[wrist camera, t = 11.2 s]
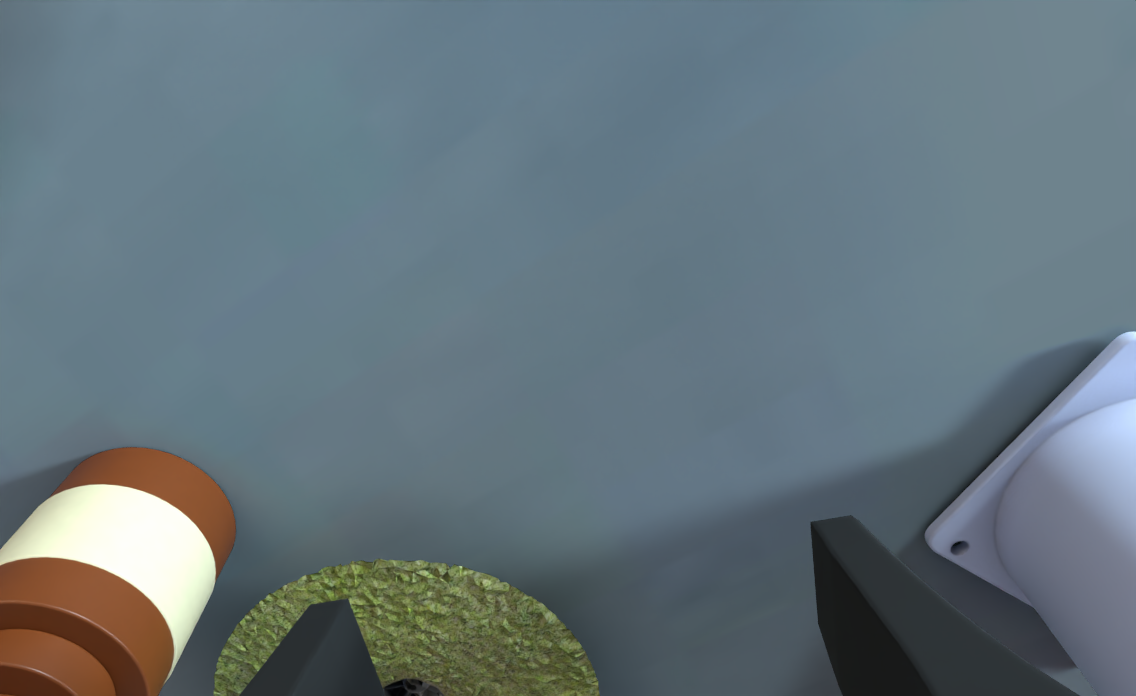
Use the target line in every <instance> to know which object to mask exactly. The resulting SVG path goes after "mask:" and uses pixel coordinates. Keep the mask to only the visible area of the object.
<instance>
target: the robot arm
mask: <svg viewBox="0 0 1136 696" xmlns="http://www.w3.org/2000/svg"><path fill="white" fill-rule="evenodd" d="M811 535H812V548H813V561H814V574H815V588H816V601H817V614H818V624H819V628H820V631H821V634H822V637H823V640H824V643H825V646H826V649H827V652H828V655H829V658H830V661H831V664H832V667H833V670H834V673H835V676H836V679H837V682H838V685H839V688H840V690H841V692H842V694H843V696H1079V695H1078V694H1076V693H1074V692H1073V691H1071V690H1070V689H1068V688H1066V687H1065V686H1063V685H1062V684H1060V683H1059V682H1057V681H1056V680H1054V679H1053V678H1051V677H1049V676H1048V675H1046V674H1045V673H1043V672H1042V671H1040V670H1039V669H1037V668H1036V667H1034V666H1033V665H1031V664H1030V663H1029V662H1027V661H1026V660H1024V659H1023V658H1021V657H1020V656H1019V655H1017V654H1016V653H1014V652H1013V651H1012V650H1010V649H1009V648H1007V647H1006V646H1005V645H1003V644H1002V643H1001V642H999V641H998V640H997V639H995V638H994V637H993V636H991V635H990V634H989V633H987V632H986V631H985V630H983V629H982V628H981V627H979V626H978V625H977V624H975V623H974V622H973V621H972V620H970V619H969V618H968V617H966V616H965V615H964V614H963V613H961V612H960V611H959V610H958V609H956V608H955V607H954V606H953V605H952V604H950V603H949V602H948V601H947V600H946V599H944V598H943V597H942V596H941V595H940V594H938V593H937V592H936V591H935V590H934V589H932V588H931V587H930V586H929V585H928V584H926V583H925V582H924V581H923V580H922V579H921V578H920V577H918V576H917V575H916V574H915V573H914V572H913V571H912V570H911V569H909V568H908V567H907V566H906V565H905V564H904V563H903V562H902V561H901V560H900V559H898V558H897V557H896V556H895V555H894V554H893V553H892V552H891V551H890V550H889V549H888V548H887V547H885V546H884V545H883V544H882V543H881V542H880V541H879V540H878V539H877V538H876V537H875V536H874V535H873V534H872V533H871V532H870V531H869V530H868V529H867V528H866V527H865V526H864V525H863V524H862V523H861V522H860V521H859V520H857V519H856V518H854V517H853V516H851V515H850V516H844V517H838V518H832V519H826V520H820V521H814V522H811ZM925 540H926V542H927V544H928V545H929V547H930V548H931V549H932V550H933V551H934V552H935V553H937V554H939V555H941V556H943V557H944V558H946V559H948V560H950V561H951V562H953V563H955V564H957V565H959V566H960V567H962V568H964V569H966V570H967V571H969V572H971V573H973V574H975V575H976V576H978V577H980V578H982V579H983V580H985V581H987V582H989V583H991V584H992V585H994V586H996V587H998V588H999V589H1001V590H1003V591H1005V592H1007V593H1008V594H1010V595H1012V596H1014V597H1015V598H1017V599H1019V600H1021V601H1023V602H1024V603H1026V604H1028V605H1030V606H1031V607H1033V608H1035V610H1036V611H1037V613H1038V614H1039V615H1040V617H1041V618H1042V619H1043V621H1044V622H1045V623H1046V625H1047V626H1048V628H1049V629H1050V630H1051V632H1052V633H1053V634H1054V636H1055V637H1056V639H1057V640H1058V641H1059V643H1060V644H1061V645H1062V647H1063V648H1064V649H1065V651H1066V652H1067V654H1068V655H1069V656H1070V658H1071V659H1072V660H1073V662H1074V663H1075V665H1076V666H1077V667H1078V669H1079V670H1080V671H1081V673H1082V674H1083V675H1084V677H1085V678H1086V680H1087V681H1088V682H1089V684H1090V685H1091V686H1092V688H1093V689H1094V691H1095V692H1096V693H1097V695H1098V696H1136V332H1126V333H1124V334H1121V335H1119V336H1118V337H1117V338H1115V339H1114V340H1113V341H1112V342H1111V343H1110V344H1109V345H1108V346H1107V347H1106V348H1105V349H1104V350H1103V351H1102V352H1101V353H1100V354H1099V355H1098V356H1097V357H1096V358H1095V359H1094V360H1093V361H1092V362H1091V363H1090V364H1089V365H1088V366H1087V367H1086V368H1085V369H1084V370H1083V371H1082V372H1081V373H1080V374H1079V375H1078V376H1077V377H1076V378H1075V379H1074V380H1073V381H1072V382H1071V383H1070V384H1069V385H1068V386H1067V387H1066V388H1065V389H1064V390H1063V391H1062V392H1061V393H1060V394H1059V396H1058V397H1057V398H1056V399H1055V400H1054V401H1053V402H1052V403H1051V404H1050V405H1049V406H1048V407H1047V408H1046V409H1045V410H1044V411H1043V412H1042V413H1041V414H1040V415H1039V416H1038V417H1037V418H1036V419H1035V420H1034V421H1033V422H1032V423H1031V424H1030V425H1029V426H1028V427H1027V428H1026V429H1025V430H1024V431H1023V432H1022V433H1021V434H1020V435H1019V436H1018V437H1017V438H1016V439H1015V440H1014V441H1013V442H1012V443H1011V444H1010V445H1009V446H1008V447H1007V448H1006V449H1005V450H1004V451H1003V452H1002V453H1001V454H1000V455H999V456H998V457H997V458H996V459H995V460H994V461H993V462H992V463H991V464H990V465H989V466H988V467H987V468H986V469H985V470H984V471H983V472H982V473H981V474H980V475H979V476H978V477H977V478H976V479H975V480H974V481H973V482H972V483H971V484H970V485H969V486H968V487H967V488H966V489H965V490H964V491H963V492H962V493H961V495H960V496H959V497H958V498H957V499H956V500H955V501H954V502H953V503H952V504H951V505H950V506H949V507H948V508H947V509H946V510H945V511H944V512H943V513H942V514H941V515H940V516H939V517H938V518H937V519H936V520H935V521H934V522H933V523H932V524H931V525H930V526H929V527H928V529H927V530H926V532H925ZM958 541H962V542H961V543H960V544H959V545H957V546H953V547H952V545H953V544H954V543H956V542H958ZM239 696H384V690H383V688H382V685H381V682H380V680H379V677H378V675H377V672H376V670H375V667H374V664H373V662H372V659H371V657H370V654H369V651H368V649H367V646H366V644H365V641H364V639H363V636H362V633H361V631H360V628H359V626H358V623H357V621H356V618H355V615H354V613H353V610H352V608H351V605H350V603H349V600H348V598H347V599H341V600H335V601H329V602H323V603H317V604H311V605H309V607H308V608H307V609H306V610H305V612H304V613H303V614H302V615H301V617H300V618H299V619H298V620H297V622H296V623H295V624H294V626H293V627H292V628H291V629H290V631H289V632H288V633H287V635H286V636H285V637H284V639H283V640H282V641H281V642H280V644H279V645H278V646H277V648H276V649H275V650H274V652H273V653H272V654H271V655H270V657H269V658H268V659H267V661H266V662H265V663H264V665H263V666H262V667H261V668H260V670H259V671H258V672H257V674H256V675H255V676H254V677H253V679H252V680H251V681H250V682H249V684H248V685H247V686H246V687H245V689H244V690H243V691H242V692H241V694H240V695H239Z"/></svg>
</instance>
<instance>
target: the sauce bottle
mask: <svg viewBox="0 0 1136 696" xmlns="http://www.w3.org/2000/svg"><path fill="white" fill-rule="evenodd" d="M235 534H236V525H235V518H234V514H233V510H232V508H231V505H230V503H229V501H228V499H227V498H226V496H225V494H224V493H223V491H222V490H221V489H220V487H219V486H218V485H217V484H216V483H215V482H214V481H213V480H212V479H211V478H210V477H209V476H208V475H207V474H206V473H204V472H203V471H202V470H201V469H199V468H198V467H196V466H195V465H193V464H191V463H189V462H188V461H186V460H184V459H182V458H180V457H177V456H175V455H172V454H169V453H166V452H162V451H159V450H154V449H148V448H137V447H128V448H118V449H111V450H108V451H104V452H101V453H98V454H96V455H94V456H91V457H89V458H88V459H86V460H85V461H83V462H82V463H80V464H79V465H78V466H77V467H76V468H75V469H74V470H73V471H72V472H71V473H70V474H69V475H68V477H67V478H66V479H65V480H64V481H63V482H62V483H61V485H60V486H59V487H58V488H57V489H56V490H55V491H54V492H53V494H52V495H51V496H50V497H49V498H48V499H47V500H46V501H44V502H43V503H42V504H41V505H40V506H39V507H38V508H37V509H36V510H35V511H34V512H33V513H32V514H31V515H30V517H29V518H28V519H27V520H26V521H25V522H24V523H23V525H22V526H21V527H20V528H19V529H18V530H17V531H16V532H15V534H14V535H13V536H12V537H11V538H10V539H9V540H8V542H7V543H6V544H5V545H4V546H3V547H2V548H1V549H0V696H158V695H159V693H160V691H161V689H162V687H163V685H164V684H165V683H166V681H167V680H168V678H169V677H170V676H171V674H172V672H173V670H174V668H175V666H176V664H177V662H178V660H179V658H180V656H181V654H182V652H183V650H184V648H185V646H186V644H187V642H188V640H189V638H190V636H191V634H192V632H193V630H194V628H195V626H196V624H197V622H198V620H199V618H200V616H201V614H202V612H203V610H204V608H205V606H206V604H207V602H208V600H209V598H210V596H211V594H212V592H213V588H214V585H215V582H216V580H217V578H218V576H219V574H220V572H221V570H222V568H223V566H224V564H225V562H226V560H227V558H228V556H229V554H230V552H231V550H232V548H233V545H234V541H235Z"/></svg>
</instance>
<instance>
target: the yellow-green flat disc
mask: <svg viewBox="0 0 1136 696" xmlns="http://www.w3.org/2000/svg"><path fill="white" fill-rule="evenodd" d="M347 598H348V600H349V603H350V605H351V608H352V610H353V613H354V615H355V618H356V621H357V623H358V626H359V628H360V631H361V633H362V636H363V639H364V641H365V644H366V646H367V649H368V651H369V654H370V657H371V659H372V662H373V664H374V667H375V670H376V672H377V675H378V677H379V680H380V682H381V685H382V688H383V690H384V696H600V695H599V687H598V680H597V679H596V674H595V673H594V669H593V667H592V664H591V662H590V661H589V660H588V657H587V655H586V652H585V651H584V649H583V648H582V647H581V645H580V643H578V640H577V639H576V638H575V637H574V635H573V634H572V632H571V631H570V630H568V629H566V627H565V625H564V623H563V622H561V621H560V620H559V619H557V616H556V615H555V614H553V613H552V612H551V611H550V610H549V609H548V608H547V607H546V606H545V605H543V604H542V603H540V602H538V601H536V600H535V599H534V598H533V597H530V596H527V595H526V594H524V593H523V592H521V591H520V590H519V589H518V588H515V587H512V586H511V585H510V584H508V583H506V582H501V581H500V580H499V579H498V578H495V577H493V576H491V575H489V574H484V573H480V572H475V571H472V570H470V569H468V568H465V567H463V566H457V565H455V564H454V565H453V566H452V567H451V568H449V566H448V565H447V564H446V563H428V562H426V561H423V560H419V561H397V560H389V561H386V560H382V559H376V560H375V561H374V562H365V561H357V562H354V561H351V563H350V564H348V565H345V566H342V565H341V564H340V565H338V566H336V567H326V568H323V569H321V570H320V571H319V572H318V573H315V574H311V575H305V576H303V577H301V578H300V579H299V580H298V581H294V582H291V583H288V584H286V585H285V586H283V587H281V588H280V589H278V590H277V591H276V592H274V593H273V594H271V593H269V594H268V596H267V597H266V599H264V600H261V601H260V602H259V603H258V604H257V605H256V606H255V607H254V608H253V609H252V610H250V611H249V612H248V613H247V614H246V615H245V617H244V618H243V619H242V620H241V622H240V623H238V624H237V626H236V628H235V629H234V631H233V632H232V634H231V636H230V638H229V639H228V640H227V642H226V644H225V646H224V648H223V650H222V652H221V655H220V657H219V659H218V664H217V665H216V672H215V675H214V680H215V683H214V684H215V689H214V696H239V695H240V694H241V692H242V691H243V690H244V689H245V687H246V686H247V685H248V684H249V682H250V681H251V680H252V679H253V677H254V676H255V675H256V674H257V672H258V671H259V670H260V668H261V667H262V666H263V665H264V663H265V662H266V661H267V659H268V658H269V657H270V655H271V654H272V653H273V652H274V650H275V649H276V648H277V646H278V645H279V644H280V642H281V641H282V640H283V639H284V637H285V636H286V635H287V633H288V632H289V631H290V629H291V628H292V627H293V626H294V624H295V623H296V622H297V620H298V619H299V618H300V617H301V615H302V614H303V613H304V612H305V610H306V609H307V608H308V607H309V605H311V604H317V603H323V602H329V601H335V600H341V599H347Z"/></svg>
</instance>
